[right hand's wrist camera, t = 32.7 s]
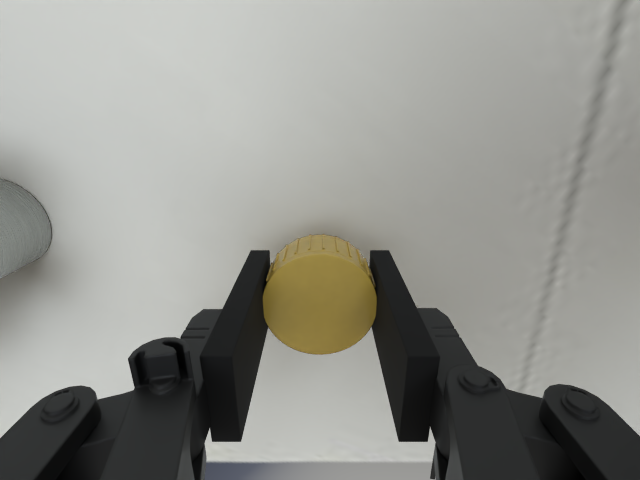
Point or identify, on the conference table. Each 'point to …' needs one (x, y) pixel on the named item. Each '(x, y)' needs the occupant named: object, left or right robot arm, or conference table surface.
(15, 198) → the bottle
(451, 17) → the conference table surface
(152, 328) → the conference table surface
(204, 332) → the right robot arm
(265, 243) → the conference table surface
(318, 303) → the cap
